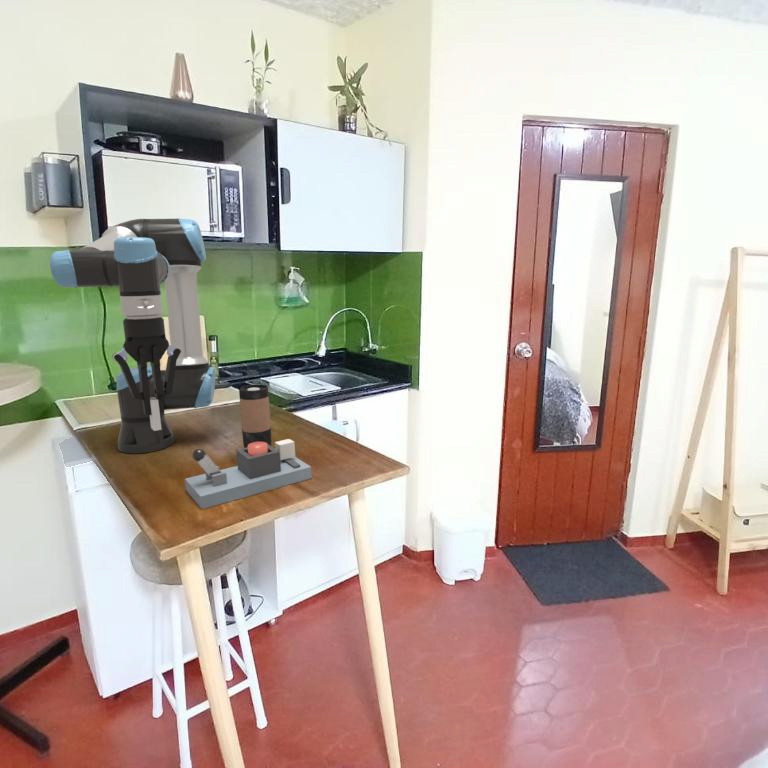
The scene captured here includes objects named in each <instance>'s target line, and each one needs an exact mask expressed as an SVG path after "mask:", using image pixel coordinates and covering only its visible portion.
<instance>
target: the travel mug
mask: <svg viewBox="0 0 768 768" xmlns="http://www.w3.org/2000/svg"><path fill="white" fill-rule="evenodd" d="M238 392H239V393H238V394H239V395H238V396H239V406H240V407H239V409H240V422H241V434H242V441H243V448H247V447H248V444H250V443H253V442H266V443H267V444H269V445H270V446H272V426H271V424H272V422H271V411H270V410H271V409H270V399H269V386H268V385H266V384H259V383H258V384H246V385H242V386H241V387H240V389H238ZM272 447H273V446H272Z"/></svg>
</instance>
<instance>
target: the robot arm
mask: <svg viewBox="0 0 768 768" xmlns="http://www.w3.org/2000/svg"><path fill="white" fill-rule="evenodd" d="M205 248H206V247H205V244H204V239H203V234H202V231H201V228H200V226H199V224H198V222H197V221H196V220H194V219H190V218H189V219H188V218H187V219H186V218H180V217H179V218H135V219H131V220H127V221H123V222H120V223H118V224H116V225H113V226H110V227H109V228H107V229H106V230H105V231H104V232H103V233H102V234H101V237H100V238H97V239H95V240H94V241H92V242H90V243H89V244H87V245H85V246H83V247H81V248H80V249H76V250H69V249H65V250H58V251H57V250H56V251H54V252H53V253H52V254H51V255H50V256H51V257H50V258H49V259H50V260H49V269H50V273H51V276H52V279H53V281H54V282H55V284H56V285H58V286H59V287H62V288H75V289H77V288H96V287H97V288H98V287H118V291H119V300H120V309H121V315H122V316H123V317H125V318H124V319H123V320H122V322H123V331H124V344H123V347H122V348H121V349H120V351H118V352H115V353H113V354H112V358H113V360H114V361H115V362H116V363H118V365H119V367H120V370H121V372H120V373H118V374H117V376H116V378H115V383H116V389H115V390H116V392H117V400H118V405H119V407H118V408H119V413H120V420H121V422H120V423H121V424H120V428H119V429H120V430H119V432H118V433H119V434H118V439H117V448H118V449H117V450H118V451H119V452H121V453H125V454H147V453H151V452H152V453H153V452H155V451H161V450H163V449H166V448H167V447H168V448H169V447H170V446H172V444H174V441H175V439H174V437H175V436H174V432H173V431H172V429H171V427H170V425H169V423H168V420H167V418H166V416H165V414H166V413H165V410H180V409H182V410H183V409H197V408H204V407H209V406H210V405H211V404H212V403H213V400H214V396H215V389H216V388H215V387H216V370H215V367H212V366H210V362H209V360H208V359H207V358H206V357H205V356H204V353H203V341H202V340H203V339H202V331H201V317H200V303H199V293H198V292H199V291H198V281H197V279H198V278H197V274H198V272H199V271H200V270H201V269H202V262H205V261H207V255H206V249H205ZM163 283H165V284H164V286H165V287H164V288H165V298H166V309H167V320H168V330H169V332H168V333H169V340H168V339H167V337H166V329H165V321H164V320H165V319H164V318H163V317H162V316H161V315H162V314H163V313H164V311H163V303H162V302H163V301H162V295H161V294H162V293H161V284H163ZM165 353H166V355H167V360H166V365H165V366H166V367H165V369H164V370H163V369H162V370H161V359H163V357H164V355H165ZM127 354H128V355H129V357H131V358H132V359H133V360H134V361H135V362H136V364H137V366H136V367H133V368H132V367H131V368H130V366H129V364H128V362H127V361H128V355H127ZM148 363H150V364H148Z"/></svg>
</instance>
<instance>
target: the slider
mask: <svg viewBox="0 0 768 768" xmlns="http://www.w3.org/2000/svg"><path fill="white" fill-rule="evenodd" d="M295 443H296V442H295V441H294V440H292V439H290V438H287V439H282V440H279V441H275V442H274V448H275V449H276V450H278V451H279V452H280V460H284V459H288V458H292V457H296V445H295Z"/></svg>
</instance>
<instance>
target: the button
mask: <svg viewBox="0 0 768 768" xmlns="http://www.w3.org/2000/svg"><path fill="white" fill-rule="evenodd" d="M264 453H268V448H267V443H266V442H253V443H250V444H248V454H249V455H250V456H256V455H260V454H264Z"/></svg>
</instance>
